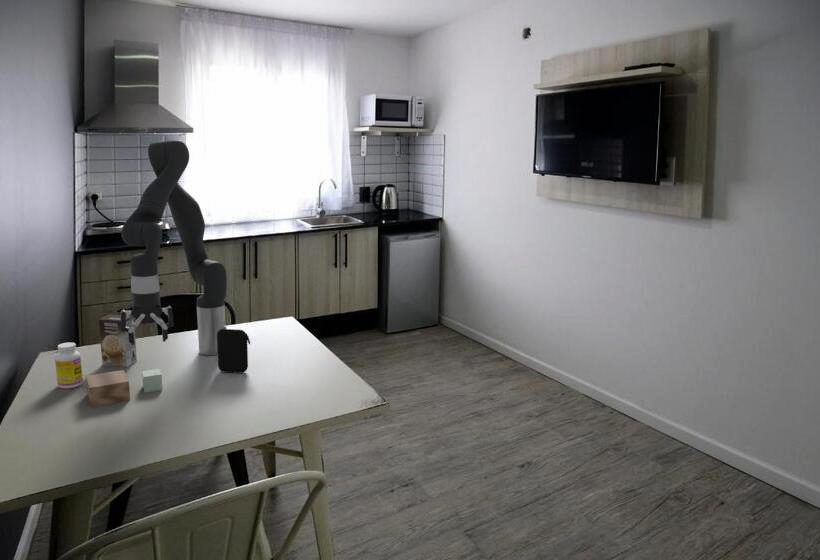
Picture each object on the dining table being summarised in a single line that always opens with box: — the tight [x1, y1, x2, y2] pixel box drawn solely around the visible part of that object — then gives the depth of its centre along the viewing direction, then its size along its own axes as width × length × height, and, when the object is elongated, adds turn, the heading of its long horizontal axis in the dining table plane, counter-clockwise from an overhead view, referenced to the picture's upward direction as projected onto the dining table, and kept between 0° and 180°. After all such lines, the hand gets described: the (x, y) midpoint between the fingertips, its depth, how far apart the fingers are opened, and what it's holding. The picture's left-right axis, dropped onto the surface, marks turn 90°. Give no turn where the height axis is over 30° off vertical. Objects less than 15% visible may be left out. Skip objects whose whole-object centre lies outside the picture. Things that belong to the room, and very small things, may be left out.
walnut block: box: [85, 369, 131, 408], centre depth 170 cm, size 10×10×6 cm
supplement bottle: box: [54, 342, 84, 389], centre depth 176 cm, size 7×7×13 cm
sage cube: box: [141, 368, 163, 393], centre depth 177 cm, size 5×5×5 cm
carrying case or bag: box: [217, 328, 251, 373], centre depth 190 cm, size 11×3×15 cm, turn 89°
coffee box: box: [98, 313, 138, 368], centre depth 195 cm, size 9×6×16 cm
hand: (148, 342), depth 175 cm, fingers open, 8 cm apart
